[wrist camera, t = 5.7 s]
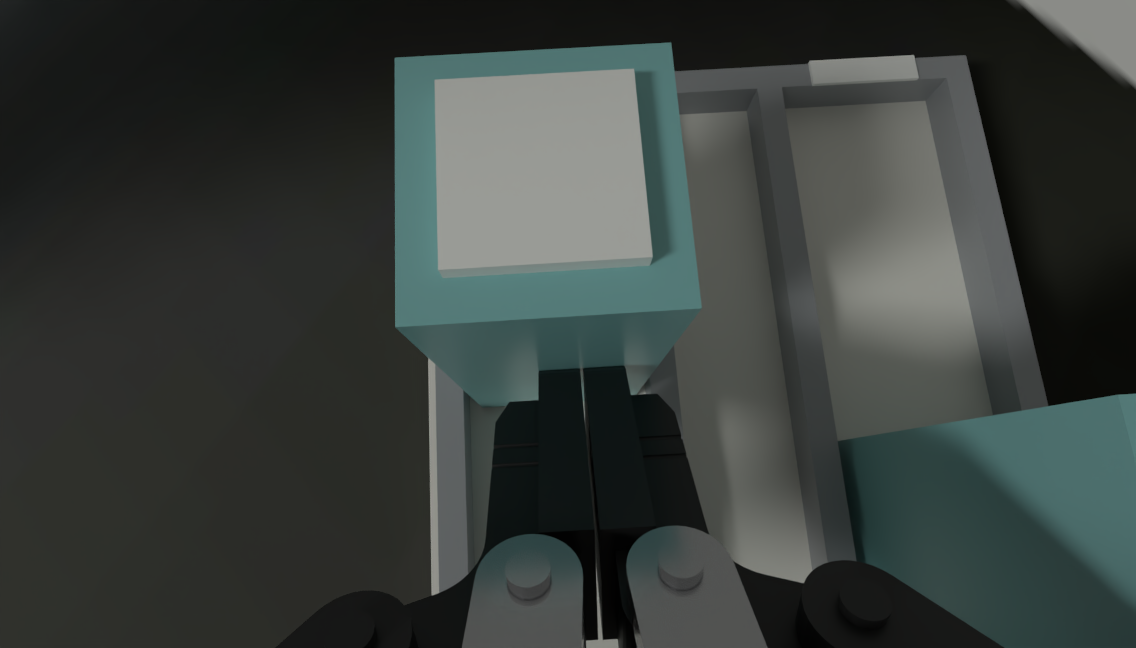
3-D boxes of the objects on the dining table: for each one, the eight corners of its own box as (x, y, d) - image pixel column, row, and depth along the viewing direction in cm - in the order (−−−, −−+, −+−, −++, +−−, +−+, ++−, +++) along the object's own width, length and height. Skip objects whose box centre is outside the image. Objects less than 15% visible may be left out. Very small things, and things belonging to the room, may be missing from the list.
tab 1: (633, 397, 15) (707, 301, 7) (482, 407, 15) (388, 320, 7) (621, 255, 16) (674, 25, 8) (477, 263, 16) (387, 41, 8)
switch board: (1065, 688, 15) (1144, 720, 13) (442, 733, 15) (422, 773, 13) (935, 96, 18) (981, 48, 16) (432, 125, 18) (415, 79, 16)
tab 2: (1020, 593, 14) (1601, 733, 6) (860, 605, 14) (1241, 760, 6) (986, 431, 15) (1460, 370, 7) (835, 441, 15) (1141, 391, 7)
